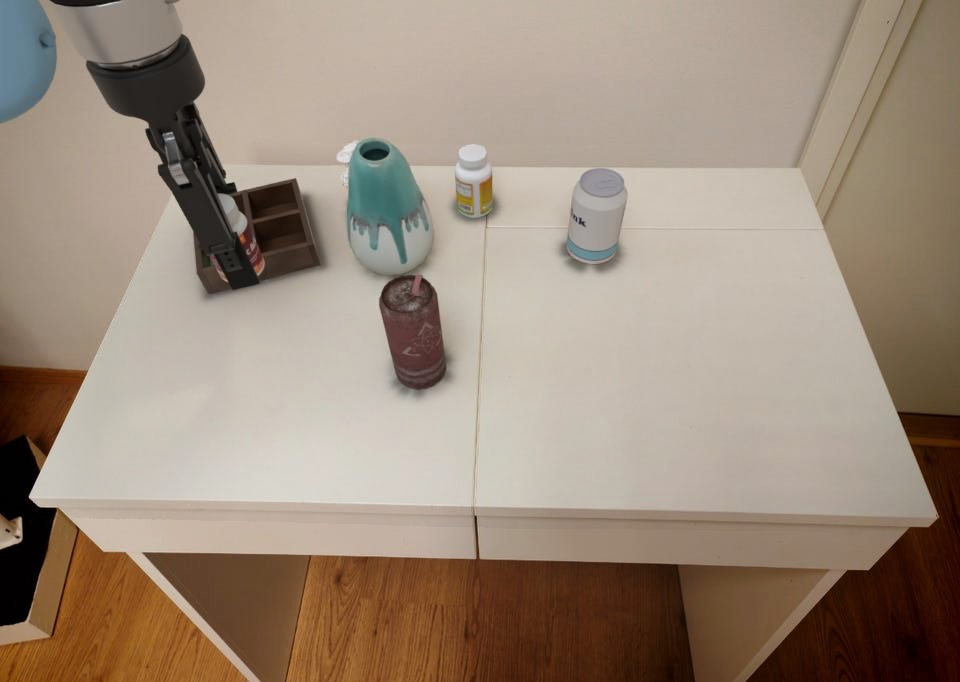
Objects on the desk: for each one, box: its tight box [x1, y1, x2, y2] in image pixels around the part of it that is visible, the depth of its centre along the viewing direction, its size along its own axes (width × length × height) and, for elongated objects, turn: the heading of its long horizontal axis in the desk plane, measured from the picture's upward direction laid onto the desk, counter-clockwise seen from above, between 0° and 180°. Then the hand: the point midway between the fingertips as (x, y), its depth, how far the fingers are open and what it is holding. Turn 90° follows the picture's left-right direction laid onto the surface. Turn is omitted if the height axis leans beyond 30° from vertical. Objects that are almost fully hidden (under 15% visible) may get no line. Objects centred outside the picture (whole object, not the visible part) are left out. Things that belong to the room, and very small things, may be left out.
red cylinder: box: [378, 274, 447, 390], centre depth 66 cm, size 6×6×14 cm
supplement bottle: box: [454, 143, 494, 219], centre depth 86 cm, size 5×5×10 cm
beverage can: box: [566, 167, 629, 265], centre depth 79 cm, size 7×7×12 cm
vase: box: [345, 137, 435, 276], centre depth 77 cm, size 12×12×18 cm
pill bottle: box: [209, 194, 265, 282], centre depth 59 cm, size 5×5×8 cm
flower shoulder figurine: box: [336, 140, 361, 189], centre depth 86 cm, size 9×4×12 cm, turn 1°
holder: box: [192, 177, 321, 295], centre depth 85 cm, size 15×15×4 cm
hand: (243, 266), depth 63 cm, fingers closed on pill bottle, 5 cm apart
